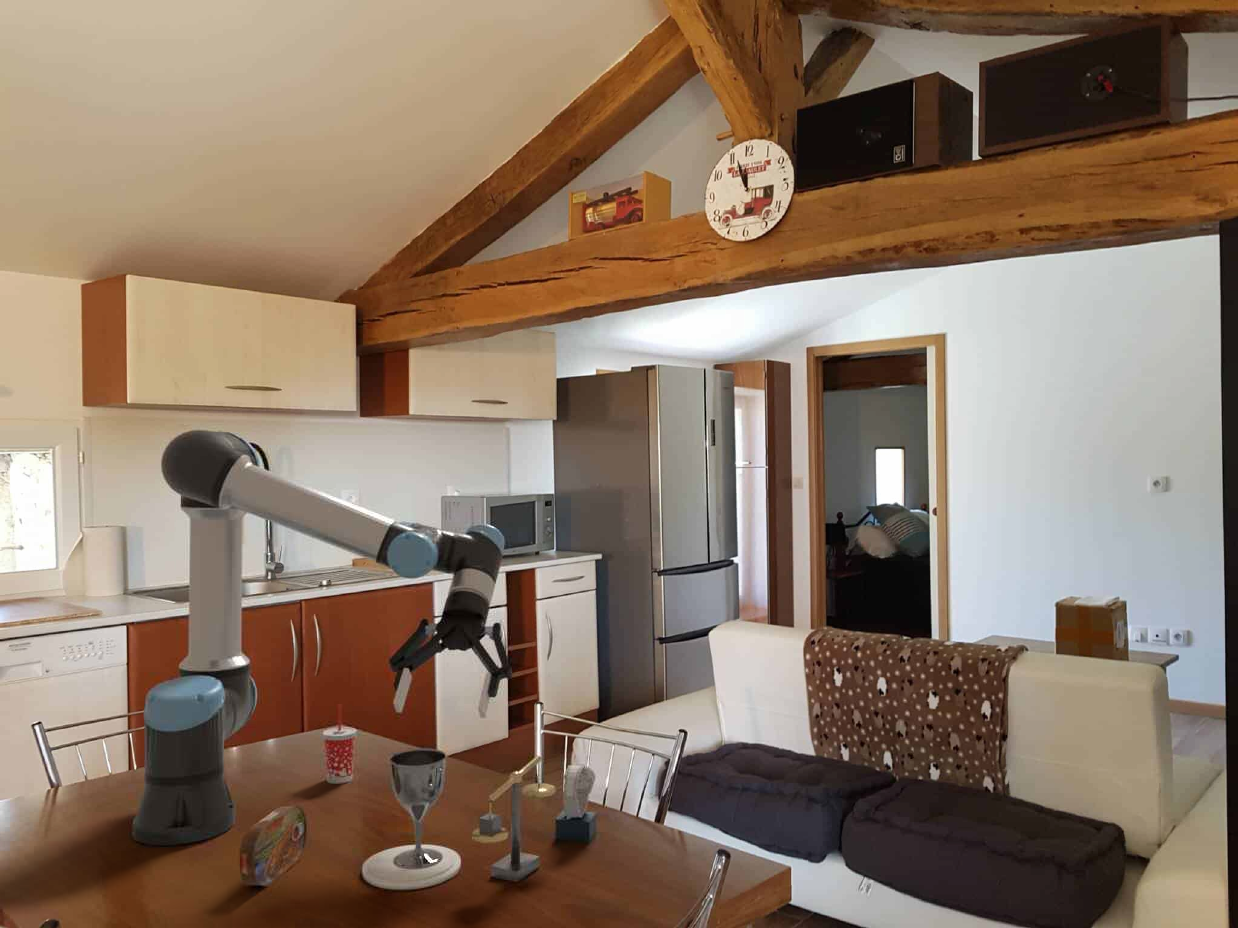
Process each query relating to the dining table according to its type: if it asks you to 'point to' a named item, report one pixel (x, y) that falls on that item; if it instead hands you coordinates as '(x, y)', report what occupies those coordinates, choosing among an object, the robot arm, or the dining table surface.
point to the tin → (272, 845)
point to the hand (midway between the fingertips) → (439, 710)
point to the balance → (512, 826)
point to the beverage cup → (339, 752)
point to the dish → (390, 876)
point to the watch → (576, 805)
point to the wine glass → (418, 797)
